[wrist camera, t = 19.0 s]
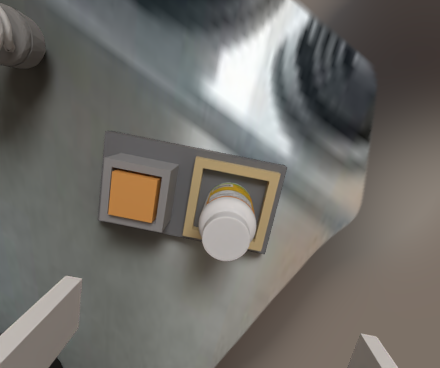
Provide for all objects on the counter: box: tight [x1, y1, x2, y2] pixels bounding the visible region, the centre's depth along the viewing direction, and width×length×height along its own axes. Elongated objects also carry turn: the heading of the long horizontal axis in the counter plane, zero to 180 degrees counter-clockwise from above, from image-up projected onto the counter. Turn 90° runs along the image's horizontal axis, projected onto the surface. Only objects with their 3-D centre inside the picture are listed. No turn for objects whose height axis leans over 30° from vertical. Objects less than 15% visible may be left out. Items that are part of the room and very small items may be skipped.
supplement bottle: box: [199, 183, 256, 261], centre depth 26 cm, size 5×5×10 cm
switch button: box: [108, 169, 162, 223], centre depth 28 cm, size 5×5×4 cm
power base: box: [98, 131, 287, 254], centre depth 29 cm, size 21×11×6 cm, turn 79°
